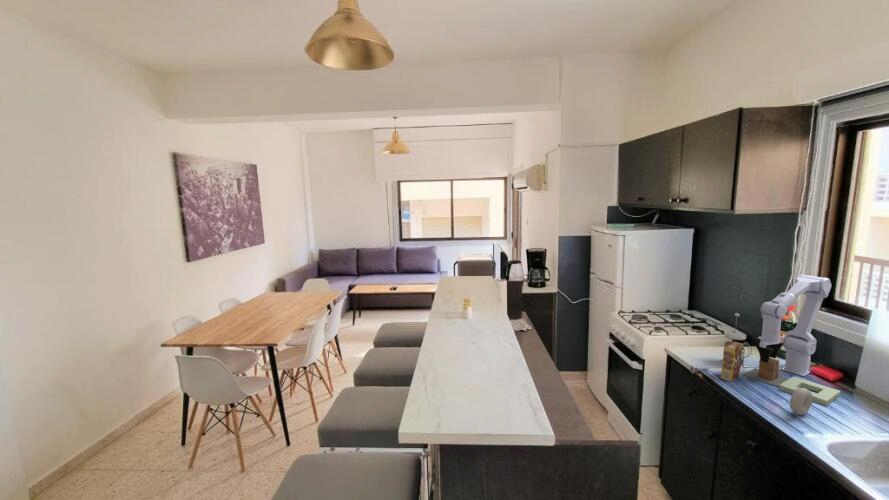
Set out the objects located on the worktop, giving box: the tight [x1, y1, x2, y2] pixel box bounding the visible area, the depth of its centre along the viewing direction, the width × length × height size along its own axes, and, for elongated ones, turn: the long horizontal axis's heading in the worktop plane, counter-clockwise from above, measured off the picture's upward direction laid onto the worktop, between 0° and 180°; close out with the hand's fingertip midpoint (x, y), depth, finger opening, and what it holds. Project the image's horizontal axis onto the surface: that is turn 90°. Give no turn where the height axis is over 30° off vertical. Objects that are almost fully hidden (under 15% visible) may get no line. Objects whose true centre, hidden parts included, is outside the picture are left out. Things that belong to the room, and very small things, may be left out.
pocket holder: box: [778, 375, 841, 406], centre depth 145 cm, size 14×14×2 cm
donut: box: [789, 387, 813, 416], centre depth 130 cm, size 10×4×10 cm, turn 114°
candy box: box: [720, 341, 744, 382], centre depth 157 cm, size 9×4×15 cm, turn 123°
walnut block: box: [758, 357, 780, 381], centre depth 157 cm, size 5×5×8 cm
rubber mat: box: [743, 367, 790, 388], centre depth 157 cm, size 12×12×1 cm
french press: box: [719, 312, 753, 369], centre depth 169 cm, size 10×12×25 cm
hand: (768, 359), depth 156 cm, fingers open, 7 cm apart
